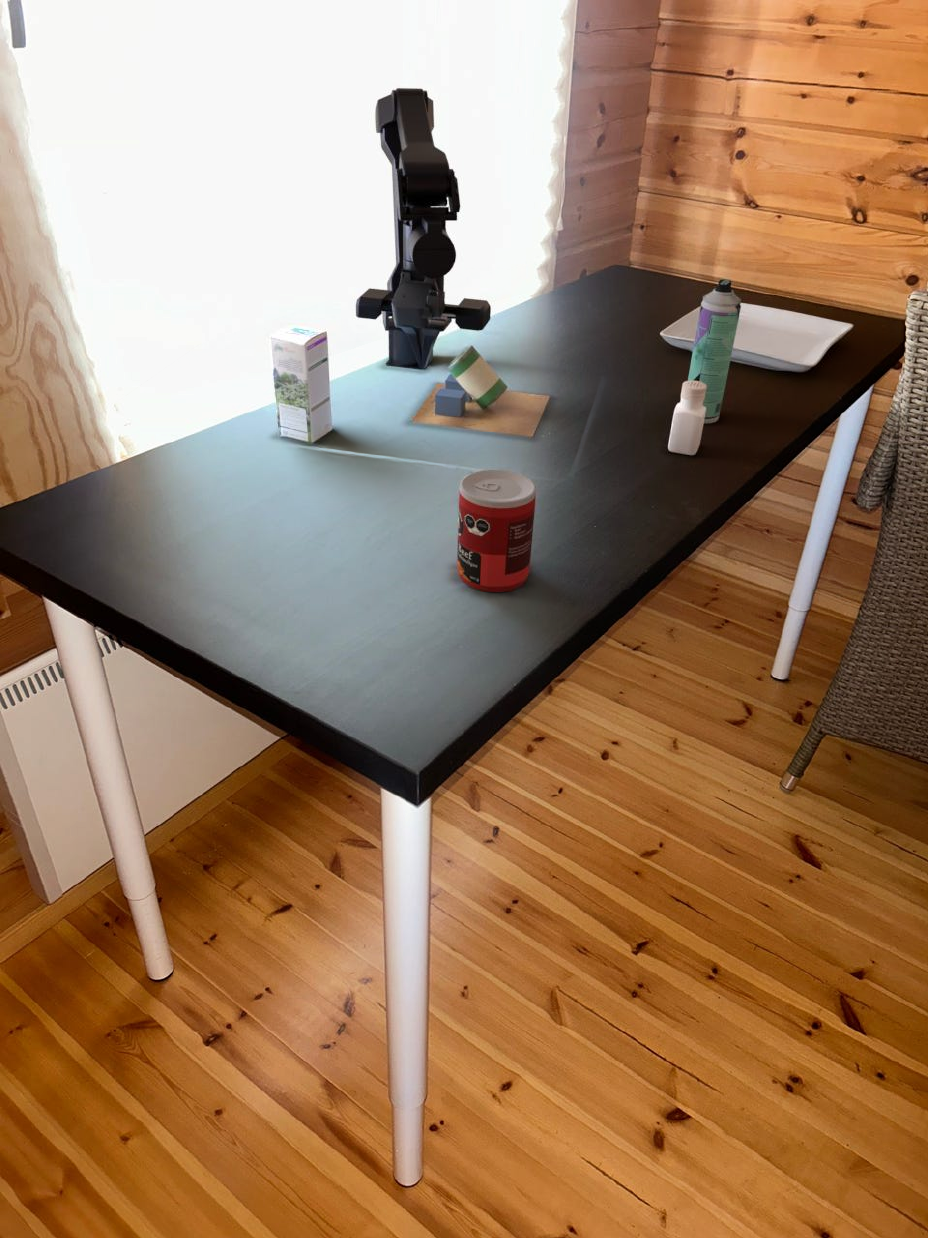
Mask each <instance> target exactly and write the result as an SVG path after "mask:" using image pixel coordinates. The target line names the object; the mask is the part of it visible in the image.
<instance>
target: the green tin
mask: <svg viewBox="0 0 928 1238" xmlns="http://www.w3.org/2000/svg"><path fill="white" fill-rule="evenodd" d="M446 370H447V371H448V372H449V374H451V375H452V376H453V377H454V378H455V379H456V380H457V381H458V383H459V384H460V385H461V386H462V387H463V388H464V390H465V391H466V392H467V393H468V394H469V395H470V396H471V398H472V399H473V400H474V401H475V402H476V403H477V404H478V405H479V407H480V408H481V409H482V410H484V409H486V408H487V407H489V406H490V405H491V404H493V403H494V402H495V401H496V400H497V399H498V398H499V397H500V396H501V395H502V394H503V393H504V392H505V391H507V389H508V385H507V384H506V383H505V382H504V381H503V380H502V378H501V377H500V375H498V373H497V372H496V371H495V370H494V368H492V367H491V366H490V364H489V363H488V362H487V361H486V359H485V358H483V356H482V355H481V353H480V352H478V350H477V349H476V348H475V347H474V345H472V344H471V345H469V346H468V347H467V348H465V349H464V350H463V351H462V352H460V354H458V355H457V356H456V357H455V358H454V359H453V360H452V361H451V362H450V363H449V364H448V366H446Z"/></svg>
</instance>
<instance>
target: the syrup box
mask: <svg viewBox="0 0 928 1238" xmlns="http://www.w3.org/2000/svg"><path fill="white" fill-rule="evenodd" d="M328 342H329V341H328V332H327V331H326V330H321V329H316V328H310V327H305V326H302V325H301V326H300V325H294V324H290V325H287V326H284V327H282V328H280V329H278V330H277V331H275V332H274V333H273V334H271V335H269V346H270V359H271V367H272V378H273V379H272V381H273V390H274V401H275V412H276V421H277V422H276V423H277V433H278V434H277V435H278V437H280V438H289V439H293V440H297V441H301V442H306V443H310V444H314V443H315V442H316V441H318V440H320V438H322V437H323V436H325V435H327V434H329V432H331V431H332V430H333V416H332V402H331V401H332V400H331V385H330V383H331V382H330V363H329V360H330V359H329V343H328Z"/></svg>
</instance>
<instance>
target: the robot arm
mask: <svg viewBox="0 0 928 1238" xmlns="http://www.w3.org/2000/svg"><path fill="white" fill-rule="evenodd" d="M428 95H429V94H428V90H424V89H423V88H418V87H417V88H416V87H415V88H410V87H409V88H408V87H405V88H404V87H397V88H396V89H392V90H391V93H389V94H388V95H386V96H383V97H381V98H379V99H377V101H376V105H375V113H374V114H375V115H374V117H375V118H374V120H375V131H376V134H379V137H380V148H381V150H382V152H383V153H384V155H385V157H386V159H387V160H388V161H389V163H390V165H391V175H392V176H391V178H392V200H393V201H392V204H393V223H394V247H395V248H394V249H395V266H394V267H393V270H392V272H391V274H390V275H389V278H388V280H387V283H386V289H380V288H371V287H370V288H368V289H367V290H366V291H364V292H363V293H362V294H361V295H359V297H358V298H357V299H356V302H355V317H357V318H358V319H366V320H375V321H376V320H377V319H378V318H379V317H380V316H381V315H382V325H383V328H384V331H385V332H388V360H387V361H386V362H385V366H386V367H393V368H401V369H411V370H418V371H419V370H420V371H423V370H425V369H426V367H427V366H428V365H429V364H430V363H431V362H432V361H433V360H434V347H435V344H436V341H437V339H438V337H439V335H440V333H442V332H445V331H446V329H447V328H448V327H449V325H451V324H452V322H453V320H454V324H456V326H457V327H458V329H460V330H467V331H468V330H469V331H477V332H479V331H484V329H485V328H486V326H487V325H488V323H489V322H490V321H491V314H492V313H491V311H492V306H491V304H490V303H489V301H488V300H485V299H478V298H477V299H476V298H468V297H464V298H462V300H461V301H460V303H459V304H452V303H451V304H450V303H446V302H445V301H446V291H445V276H446V275H447V274H449V273H450V271H452V269H453V268H454V265H455V263H456V260H457V251H456V250H457V249H456V246H455V244H454V242H453V241H452V239H451V237H450V236H449V234H448V232H447V226H446V225H447V222H448V221H449V222H452V221H454V222H455V221H456V222H457V221H458V213H460V210H461V200H460V189H459V181H458V180H459V179H458V177H457V176H456V175H455V171H454V168H450V164H449V160H448V158H447V157H448V156H447V154H446V153H445V152H444V151H443V150H441V149H440V148H438V147H437V146H435V142H434V137H433V130H434V129H435V113H434V111H435V110H434V100H433V99H432V98H430V97H429V96H428Z"/></svg>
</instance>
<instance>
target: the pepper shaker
mask: <svg viewBox="0 0 928 1238" xmlns="http://www.w3.org/2000/svg"><path fill="white" fill-rule="evenodd" d="M706 388H707V387H706V384H704V383H702V382H699V381H691V380H690V381H688V380H685V381H683V383H682V385H681V392H680V401H679V402H677V403H676V405H675V407H674V410H673V415H672V420H671V428H670V432H669V438H668V444H667V449H668V451H669V452H671V453H676V454H681V455H687V456H688V455H689V456H695V455H696V453H697V452H698V450H699V448H700V445H701V439H702V434H703V429H704V425H705V423H704V419H705V413H706V407H704V406H703V400H704V398H705V392H706Z"/></svg>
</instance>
